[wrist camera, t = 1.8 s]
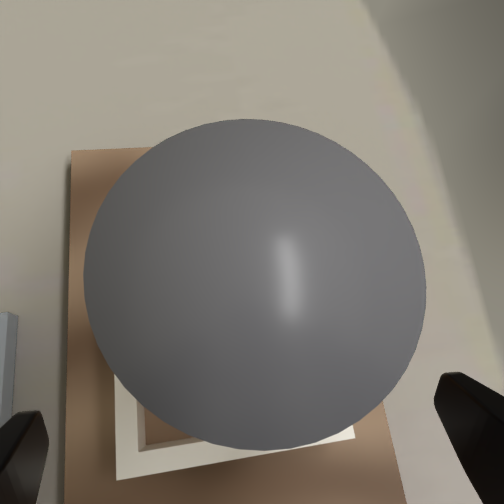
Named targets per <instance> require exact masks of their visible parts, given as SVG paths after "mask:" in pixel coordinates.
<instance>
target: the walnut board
mask: <svg viewBox="0 0 504 504" xmlns="http://www.w3.org/2000/svg"><path fill="white" fill-rule="evenodd" d="M151 148H153V147H146V148H123V149H99V150H76V151H71V198H70V244H69V291H68V338H67V385H66V432H65V479H64V504H407V503H406V498H405V494H404V490H403V486H402V481H401V477H400V473H399V469H398V464H397V460H396V456H395V452H394V447H393V443H392V439H391V435H390V430H389V426H388V422H387V418H386V413H385V409H384V405H383V401H382V402H381V403H380V404H379V405H378V406H377V407H376V408H374V409H373V410H372V411H371V412H370V413H368V414H367V415H366V416H365V417H363V418H362V419H361V420H360V421H358V422H357V423H355V424H353V429H354V434H355V438H353V439H348V440H342V441H336V442H331V443H325V444H319V445H314V446H308V447H303V448H297V449H291V450H286V451H280V452H274V453H269V454H263V455H258V456H252V457H246V458H241V459H235V460H230V461H224V462H218V463H213V464H207V465H201V466H196V467H190V468H185V469H179V470H173V471H168V472H162V473H156V474H151V475H145V476H140V477H134V478H128V479H123V480H117V481H116V435H115V380H114V373H113V371H112V370H111V369H110V367H109V365H108V364H107V362H106V360H105V358H104V356H103V354H102V352H101V350H100V349H99V347H98V345H97V342H96V339H95V337H94V334H93V331H92V328H91V325H90V323H89V319H88V314H87V309H86V304H85V299H84V282H83V270H84V259H85V251H86V246H87V242H88V238H89V234H90V230H91V227H92V225H93V222H94V220H95V217H96V215H97V212H98V210H99V208H100V206H101V204H102V203H103V201H104V199H105V197H106V196H107V194H108V192H109V191H110V189H111V188H112V187H113V185H114V184H115V183H116V181H117V180H118V179H119V177H120V176H121V175H122V174H123V173H124V172H125V171H126V170H127V169H128V168H129V167H130V166H131V165H132V164H133V163H134V162H135V161H136V160H137V159H138V158H140V157H141V156H142V155H143V154H145V153H146V152H147V151H148V150H150V149H151ZM144 416H145V440H146V445H151V444H157V443H163V442H169V441H175V440H181V439H187V438H193V437H192V436H190V435H187V434H185V433H184V432H182V431H180V430H178V429H176V428H174V427H172V426H171V425H169V424H167V423H165V422H164V421H162V420H161V419H160V418H158V417H157V416H156V415H154V414H153V413H152V412H150V411H149V410H147V409H146V408H145V407H144Z"/></svg>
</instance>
